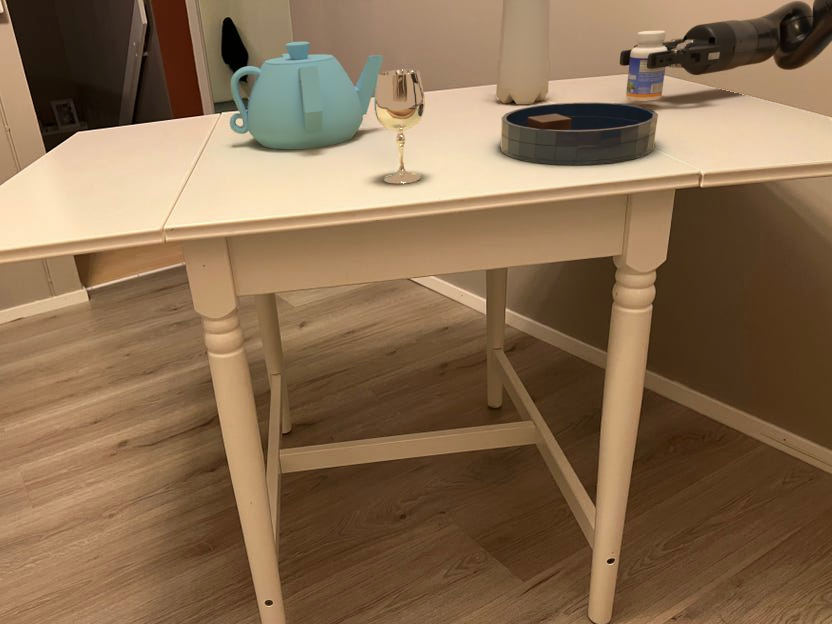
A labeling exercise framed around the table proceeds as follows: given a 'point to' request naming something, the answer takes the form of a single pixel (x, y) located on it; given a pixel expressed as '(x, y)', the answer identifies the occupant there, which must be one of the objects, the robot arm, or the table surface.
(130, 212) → the table surface
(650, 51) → the pill bottle
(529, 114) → the bowl
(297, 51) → the teapot
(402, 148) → the wineglass
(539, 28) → the bottle
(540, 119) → the block
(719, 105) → the table surface
